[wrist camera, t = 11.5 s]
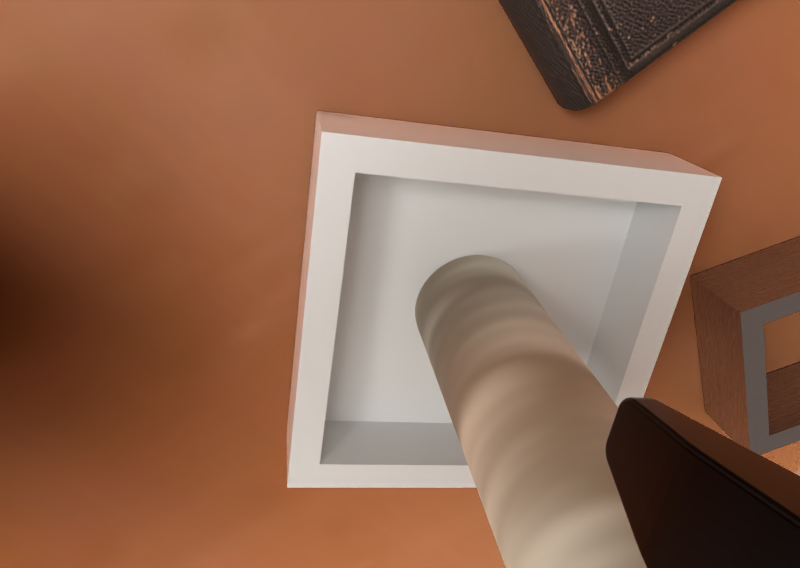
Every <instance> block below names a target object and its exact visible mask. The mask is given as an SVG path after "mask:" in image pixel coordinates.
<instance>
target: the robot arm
mask: <svg viewBox="0 0 800 568" xmlns="http://www.w3.org/2000/svg"><path fill="white" fill-rule="evenodd" d="M605 451H606V459H607V462H608V465H609V468H610V471H611V474H612V476H613V479H614V482H615V485H616V487H617V490H618V493H619V496H620V499H621V501H622V504H623V507H624V510H625V513H626V515H627V518H628V521H629V524H630V527H631V529H632V532H633V535H634V538H635V540H636V543H637V546H638V548H639V551H640V553H641V556H642V558H643V560H644V562H645V565H646V567H647V568H800V476H798V475H796V474H795V473H793V472H791V471H789V470H787V469H785V468H783V467H781V466H779V465H778V464H776V463H774V462H772V461H770V460H768V459H766V458H764V457H763V456H761V455H759V454H757V453H755V452H753V451H751V450H749V449H747V448H746V447H744V446H742V445H740V444H738V443H736V442H734V441H732V440H730V439H729V438H727V437H725V436H723V435H721V434H719V433H717V432H715V431H714V430H712V429H710V428H708V427H706V426H704V425H702V424H700V423H698V422H697V421H695V420H693V419H691V418H689V417H687V416H685V415H683V414H681V413H680V412H678V411H676V410H674V409H672V408H670V407H668V406H666V405H664V404H663V403H661V402H659V401H657V400H655V399H652V398H639V397H628V398H625V399H624V400H622V402H621V403H620V405H619V407H618V410H617V413H616V415H615V418H614V421H613V424H612V427H611V430H610V433H609V436H608V438H607V442H606V448H605Z"/></svg>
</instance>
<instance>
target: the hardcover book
mask: <svg viewBox="0 0 800 568" xmlns="http://www.w3.org/2000/svg"><path fill="white" fill-rule="evenodd" d="M735 1H737V0H499V2H500V4H501V5H502V7H503V9H504V11H505V12H506V14H507V16H508V18H509V19H510V21H511V23H512V25H513V26H514V28H515V30H516V31H517V33H518V35H519V37H520V38H521V40H522V42H523V44H524V45H525V47H526V49H527V51H528V52H529V54H530V56H531V58H532V59H533V61H534V63H535V64H536V66H537V68H538V70H539V71H540V73H541V75H542V77H543V78H544V80H545V82H546V84H547V85H548V87H549V89H550V91H551V92H552V94H553V96H554V97H555V99H556V101H557V103H558V104H559V105H561V106H562V107H563V108H566V109H570V110H581V109H584V108H587V107H589V106H591V105H594V104H596V103H598V102H599V101H600V100H602V99H603V98H604V97H606V96H607V95H609V94H610V93H611V92H613V91H614V90H615V89H617V88H618V87H619V86H621V85H622V84H623V83H625V82H626V81H628V80H629V79H630V78H632V77H633V76H634V75H636V74H637V73H638V72H640V71H641V70H643V69H644V68H645V67H647V66H648V65H649V64H651V63H652V62H653V61H655V60H656V59H658V58H659V57H660V56H662V55H663V54H664V53H666V52H667V51H668V50H670V49H671V48H673V47H674V46H675V45H677V44H678V43H679V42H681V41H682V40H683V39H685V38H686V37H687V36H689V35H690V34H692V33H693V32H694V31H696V30H697V29H698V28H700V27H701V26H702V25H704V24H705V23H707V22H708V21H709V20H711V19H712V18H713V17H715V16H716V15H717V14H719V13H720V12H722V11H723V10H724V9H726V8H727V7H728V6H730V5H731V4H732V3H734V2H735Z"/></svg>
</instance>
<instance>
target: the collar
mask: <svg viewBox="0 0 800 568" xmlns="http://www.w3.org/2000/svg"><path fill="white" fill-rule="evenodd" d="M690 277H691V287H692V296H693V305H694V314H695V323H696V333H697V342H698V351H699V360H700V369H701V379H702V388H703V397H704V406H705V412H706V413H707V414H708V415H709V416H710V417H711V418H712V419H713V420H714V421H715V422H716V423H717V424H718V425H719V426H720V427H721V428H722V429H723V430H724V431H725V432H726V433H727V434H728V435H729V436H730V437H731V439H732V440H733V441H734V442H736V443H738V444H740V445H742V446H744V447H746V448H747V449H749V450H751V451H753V452H755V453H757V454H759V455H761V454H764V453H766V452H769V451H772V450H775V449H777V448H780V447H783V446H786V445H788V444H791V443H794V442H797V441H799V440H800V362H799V363H796V364H793V365H791V366H788V367H785V368H782V369H779V370H777V371H774V372H771V373H768V374H766V359H765V339H764V324H765V323H768V322H771V321H774V320H776V319H779V318H782V317H785V316H788V315H790V314H793V313H796V312H799V311H800V237H797V238H794V239H791V240H789V241H786V242H783V243H780V244H778V245H775V246H772V247H769V248H766V249H764V250H761V251H758V252H755V253H752V254H750V255H747V256H744V257H741V258H739V259H736V260H733V261H730V262H727V263H725V264H722V265H719V266H716V267H714V268H711V269H708V270H705V271H702V272H700V273H697V274H694V275H691V276H690Z"/></svg>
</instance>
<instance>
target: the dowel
mask: <svg viewBox="0 0 800 568" xmlns="http://www.w3.org/2000/svg"><path fill="white" fill-rule="evenodd" d="M415 319H416V324H417V327H418V330H419V333H420V335H421V338H422V341H423V343H424V346H425V349H426V352H427V354H428V357H429V360H430V363H431V365H432V368H433V371H434V374H435V376H436V379H437V382H438V384H439V387H440V390H441V393H442V395H443V398H444V401H445V404H446V406H447V409H448V412H449V414H450V417H451V420H452V423H453V425H454V428H455V431H456V434H457V436H458V439H459V442H460V445H461V447H462V450H463V453H464V455H465V458H466V461H467V464H468V466H469V469H470V472H471V475H472V477H473V480H474V483H475V486H476V488H477V491H478V494H479V496H480V499H481V502H482V505H483V507H484V510H485V513H486V516H487V518H488V521H489V524H490V527H491V529H492V532H493V535H494V537H495V540H496V543H497V546H498V548H499V551H500V554H501V557H502V559H503V562H504V565H505V567H506V568H647V567H646V565H645V562H644V560H643V558H642V556H641V553H640V551H639V548H638V546H637V543H636V540H635V538H634V535H633V532H632V529H631V527H630V524H629V521H628V518H627V515H626V513H625V510H624V507H623V504H622V501H621V499H620V496H619V493H618V490H617V487H616V485H615V482H614V479H613V476H612V474H611V471H610V468H609V465H608V462H607V459H606V451H605V448H606V442H607V438H608V436H609V433H610V430H611V427H612V424H613V421H614V418H615V415H616V413H617V410H618V407H617V405H616V404H615V403H614V401H613V400H612V399H611V397H610V396H609V395H608V393H607V392H606V391H605V389H604V388H603V387H602V385H601V384H600V383H599V381H598V380H597V379H596V377H595V376H594V375H593V373H592V372H591V371H590V369H589V368H588V367H587V365H586V364H585V363H584V361H583V360H582V359H581V357H580V356H579V355H578V353H577V352H576V351H575V349H574V348H573V347H572V345H571V344H570V343H569V341H568V340H567V339H566V337H565V336H564V335H563V333H562V332H561V331H560V329H559V328H558V327H557V325H556V324H555V323H554V321H553V320H552V319H551V317H550V316H549V315H548V313H547V312H546V311H545V309H544V308H543V307H542V305H541V304H540V303H539V301H538V300H537V299H536V297H535V296H534V295H533V293H532V292H531V291H530V289H529V288H528V287H527V285H526V284H525V283H524V281H523V280H522V279H521V277H520V276H519V275H518V273H517V272H516V271H515V270H514V269H513V268H512V267H511V266H510V265H508V264H507V263H506V262H504V261H502V260H500V259H497V258H494V257H490V256H484V255H471V256H465V257H461V258H458V259H455V260H453V261H450V262H448V263H446V264H445V265H443V266H441V267H440V268H439V269H437V270H436V271H435V272H434V273H433V274H432V275H431V276H430V277H429V278H428V279H427V280H426V282H425V283H424V285H423V286H422V288H421V290H420V292H419V294H418V297H417V300H416V306H415Z"/></svg>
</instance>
